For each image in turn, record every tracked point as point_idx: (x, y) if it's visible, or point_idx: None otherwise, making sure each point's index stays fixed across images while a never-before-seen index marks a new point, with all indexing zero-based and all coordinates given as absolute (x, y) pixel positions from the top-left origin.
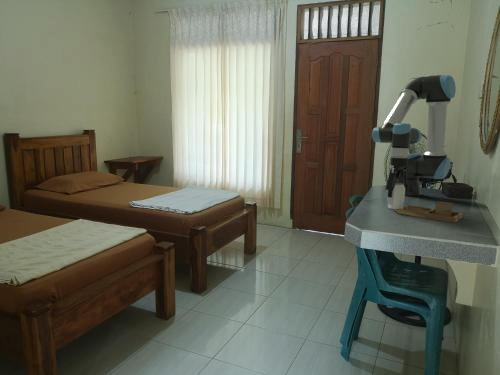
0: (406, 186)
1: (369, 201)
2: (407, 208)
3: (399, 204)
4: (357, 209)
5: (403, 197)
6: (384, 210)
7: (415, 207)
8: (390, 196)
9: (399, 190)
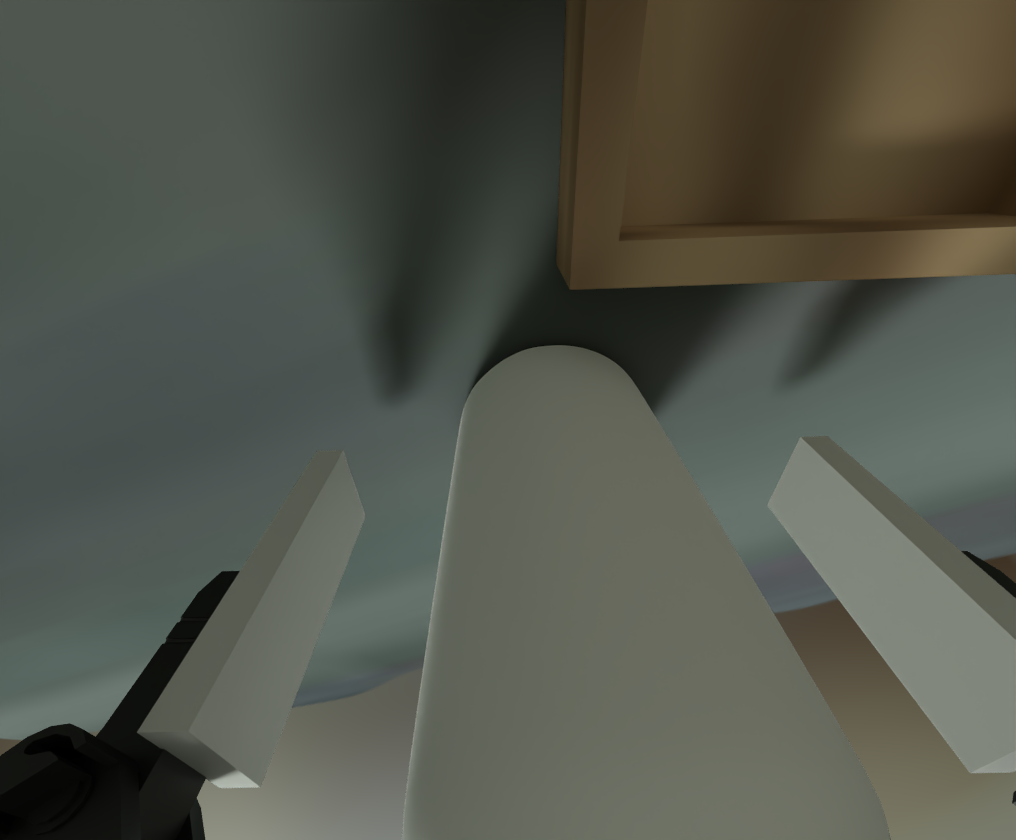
0: (61, 770)
1: (417, 649)
2: (681, 229)
3: (637, 399)
4: (822, 594)
5: (567, 453)
6: (745, 457)
7: (634, 64)
8: (994, 577)
9: (800, 667)
